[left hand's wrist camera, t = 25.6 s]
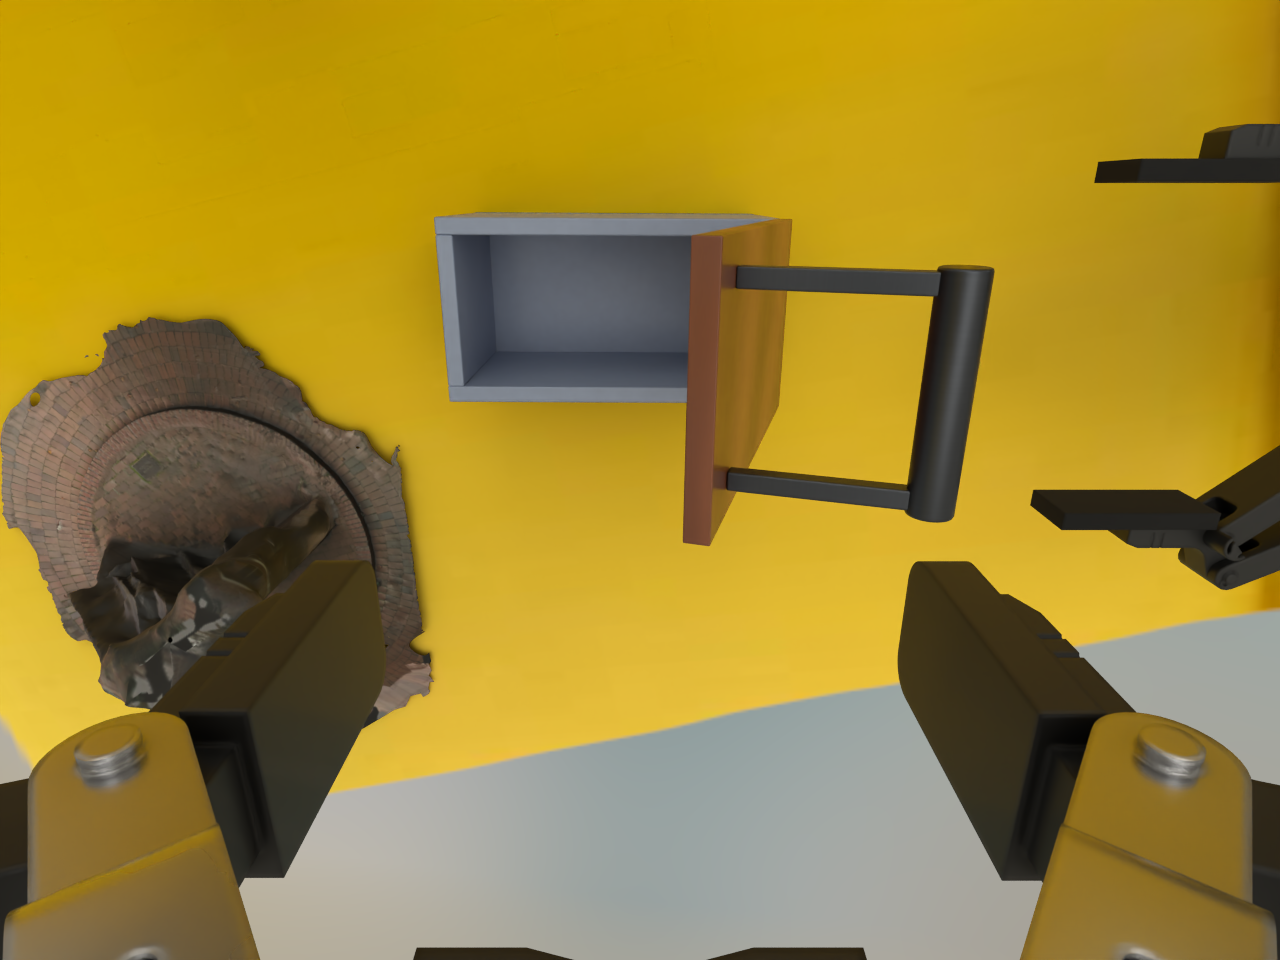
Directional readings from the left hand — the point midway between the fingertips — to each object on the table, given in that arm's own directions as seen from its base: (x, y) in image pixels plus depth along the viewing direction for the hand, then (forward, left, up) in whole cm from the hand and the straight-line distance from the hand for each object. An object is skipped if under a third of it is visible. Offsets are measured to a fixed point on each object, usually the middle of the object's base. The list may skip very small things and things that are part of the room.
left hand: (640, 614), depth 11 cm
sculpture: (-32, -17, -41) cm, 55 cm away
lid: (+4, 0, -21) cm, 22 cm away
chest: (-2, 0, -41) cm, 41 cm away
